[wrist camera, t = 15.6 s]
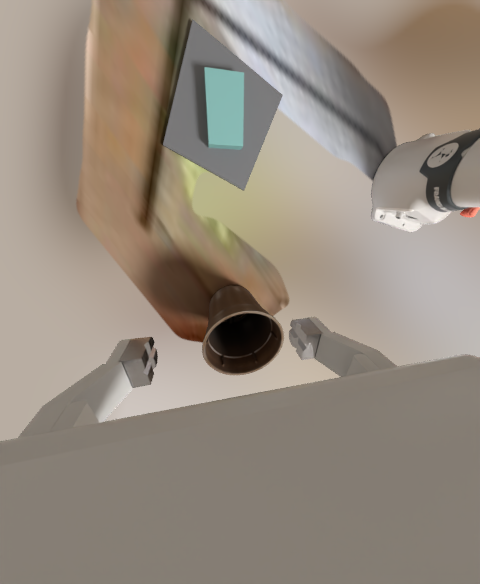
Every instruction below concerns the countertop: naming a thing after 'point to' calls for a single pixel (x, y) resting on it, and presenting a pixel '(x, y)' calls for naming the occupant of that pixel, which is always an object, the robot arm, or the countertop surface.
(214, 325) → the plant pot
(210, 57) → the mat
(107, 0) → the countertop surface
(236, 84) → the teal board
